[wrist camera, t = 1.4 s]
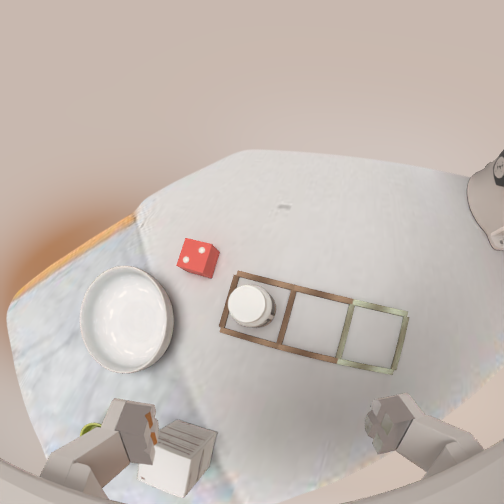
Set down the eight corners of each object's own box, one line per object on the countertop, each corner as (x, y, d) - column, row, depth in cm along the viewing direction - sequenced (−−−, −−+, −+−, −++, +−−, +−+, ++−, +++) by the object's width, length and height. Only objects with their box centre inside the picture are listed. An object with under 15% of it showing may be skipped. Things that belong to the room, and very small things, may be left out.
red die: (219, 252, 49) (211, 244, 44) (211, 278, 48) (202, 272, 44) (195, 246, 50) (185, 237, 45) (187, 271, 49) (176, 265, 44)
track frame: (408, 312, 41) (410, 312, 41) (393, 374, 39) (394, 375, 39) (236, 270, 48) (235, 269, 47) (218, 331, 45) (217, 331, 45)
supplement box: (210, 466, 39) (183, 500, 27) (170, 452, 41) (134, 479, 29) (219, 431, 41) (192, 460, 29) (177, 417, 43) (139, 438, 31)
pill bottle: (247, 285, 47) (233, 273, 37) (281, 298, 45) (276, 289, 36) (233, 319, 46) (216, 316, 36) (268, 333, 44) (259, 333, 35)
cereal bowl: (154, 389, 44) (132, 395, 38) (90, 333, 49) (66, 331, 42) (203, 306, 47) (187, 301, 40) (132, 257, 51) (110, 246, 45)
